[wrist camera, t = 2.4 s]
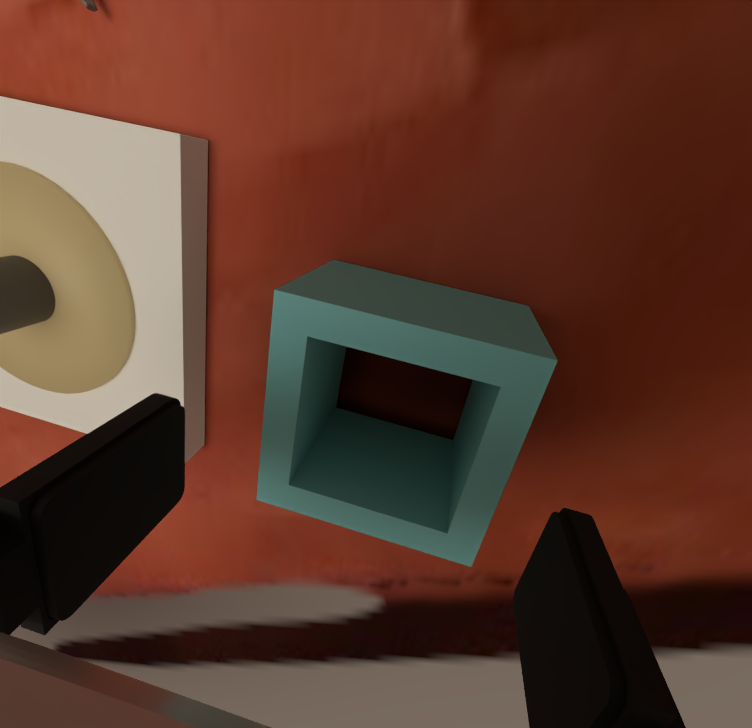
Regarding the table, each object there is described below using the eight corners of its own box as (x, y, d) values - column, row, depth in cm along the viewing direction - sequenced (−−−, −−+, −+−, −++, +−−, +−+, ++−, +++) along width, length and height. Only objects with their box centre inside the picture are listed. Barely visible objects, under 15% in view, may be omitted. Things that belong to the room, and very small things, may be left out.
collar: (528, 306, 14) (558, 360, 9) (470, 466, 17) (471, 566, 12) (333, 259, 15) (274, 289, 10) (310, 420, 18) (256, 499, 13)
